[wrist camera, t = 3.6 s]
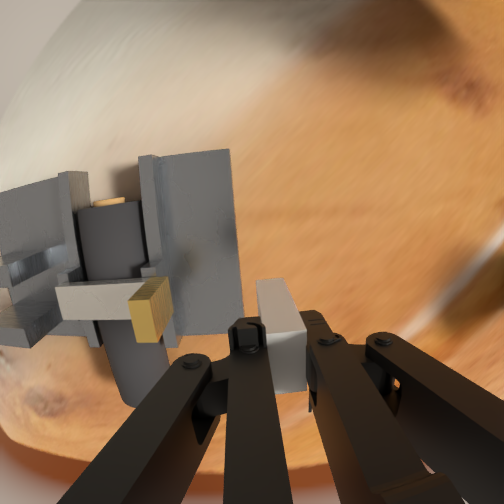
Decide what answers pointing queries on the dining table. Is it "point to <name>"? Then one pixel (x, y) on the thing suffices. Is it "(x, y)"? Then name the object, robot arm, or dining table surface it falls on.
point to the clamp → (158, 243)
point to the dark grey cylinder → (113, 268)
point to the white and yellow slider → (120, 303)
